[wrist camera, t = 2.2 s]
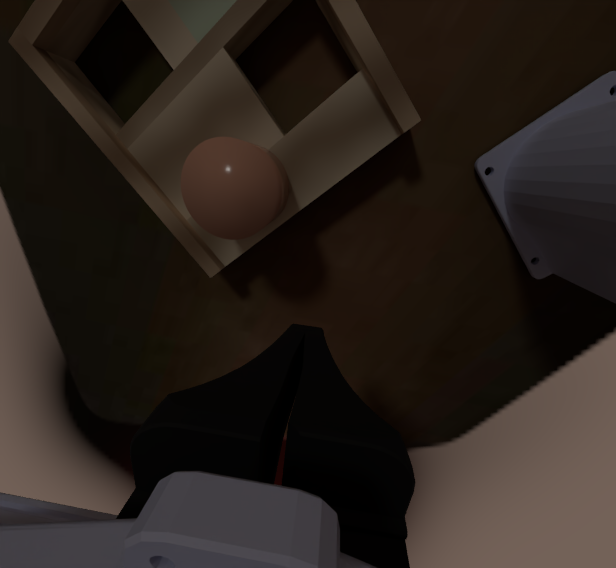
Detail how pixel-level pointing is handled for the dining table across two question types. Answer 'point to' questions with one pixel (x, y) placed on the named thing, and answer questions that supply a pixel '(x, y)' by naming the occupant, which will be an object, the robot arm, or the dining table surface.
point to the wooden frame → (216, 102)
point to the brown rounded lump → (233, 187)
